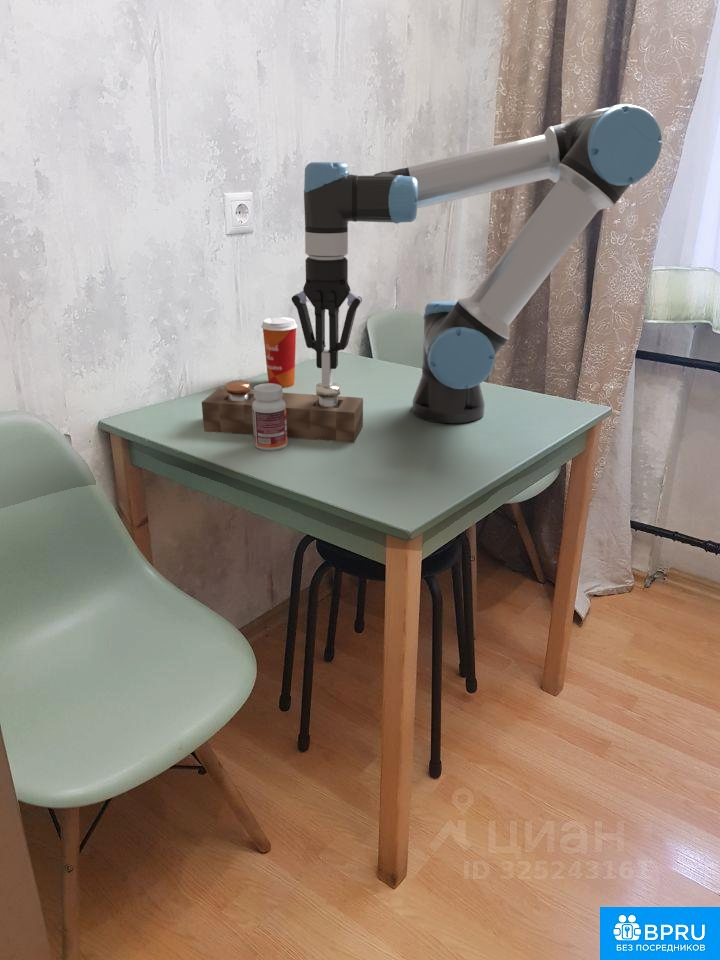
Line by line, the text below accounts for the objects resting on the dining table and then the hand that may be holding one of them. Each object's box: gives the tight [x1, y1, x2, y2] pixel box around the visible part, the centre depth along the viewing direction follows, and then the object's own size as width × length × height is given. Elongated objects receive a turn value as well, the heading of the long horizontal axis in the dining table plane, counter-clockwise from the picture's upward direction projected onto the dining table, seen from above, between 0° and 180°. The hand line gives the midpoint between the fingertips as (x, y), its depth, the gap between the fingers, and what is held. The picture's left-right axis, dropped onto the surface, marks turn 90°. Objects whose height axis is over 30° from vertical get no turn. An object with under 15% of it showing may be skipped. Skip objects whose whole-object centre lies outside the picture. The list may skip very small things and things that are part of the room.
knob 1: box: [225, 379, 252, 402], centre depth 145 cm, size 5×5×7 cm
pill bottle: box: [252, 382, 288, 451], centre depth 135 cm, size 6×6×11 cm
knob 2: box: [315, 382, 341, 408], centre depth 142 cm, size 5×5×7 cm
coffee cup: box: [260, 316, 298, 389], centre depth 170 cm, size 8×8×15 cm
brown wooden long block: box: [201, 387, 364, 444], centre depth 145 cm, size 30×9×6 cm, turn 79°
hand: (327, 384), depth 140 cm, fingers closed
